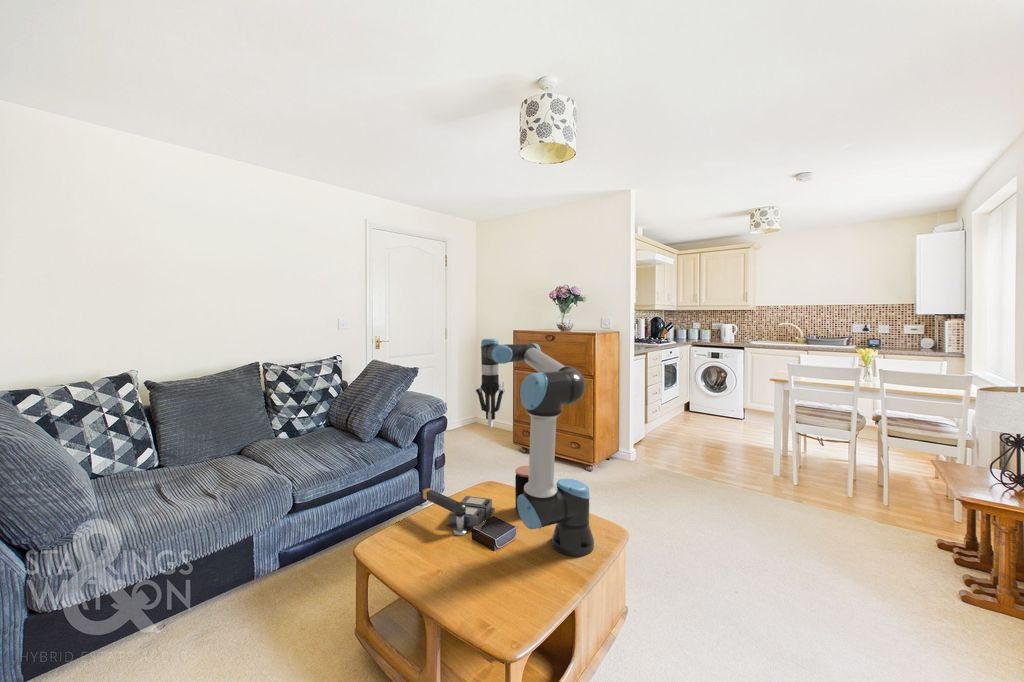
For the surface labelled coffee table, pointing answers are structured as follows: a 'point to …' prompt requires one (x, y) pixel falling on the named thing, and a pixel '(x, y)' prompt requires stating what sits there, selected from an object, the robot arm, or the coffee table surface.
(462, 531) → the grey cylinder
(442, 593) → the coffee table surface
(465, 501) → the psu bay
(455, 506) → the swing arm
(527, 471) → the coffee jar
